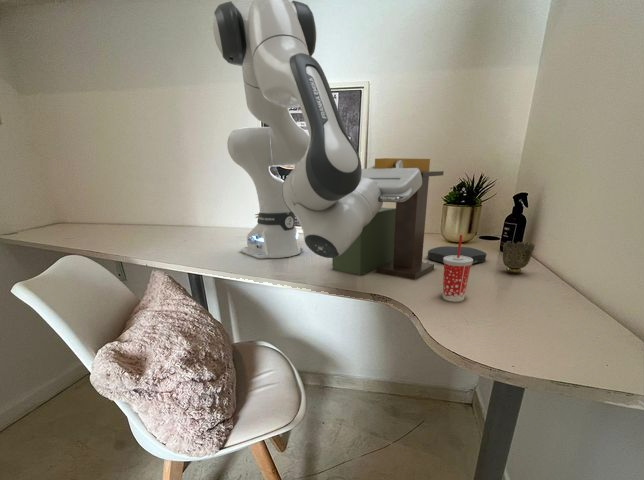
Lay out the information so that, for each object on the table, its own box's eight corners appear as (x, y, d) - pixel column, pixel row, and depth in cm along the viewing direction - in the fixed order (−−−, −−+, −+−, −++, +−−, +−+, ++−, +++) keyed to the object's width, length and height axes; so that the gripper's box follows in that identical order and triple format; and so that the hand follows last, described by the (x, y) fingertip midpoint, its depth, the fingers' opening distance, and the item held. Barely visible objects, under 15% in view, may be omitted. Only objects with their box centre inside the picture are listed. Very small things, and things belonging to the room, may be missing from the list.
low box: (332, 269, 98) (330, 212, 91) (367, 257, 111) (367, 206, 104) (360, 275, 92) (360, 215, 86) (393, 261, 105) (395, 208, 98)
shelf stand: (376, 272, 94) (379, 172, 84) (397, 263, 103) (402, 171, 92) (414, 279, 88) (423, 172, 77) (434, 269, 96) (443, 171, 85)
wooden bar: (374, 173, 75) (374, 158, 74) (418, 171, 90) (419, 159, 89) (385, 173, 73) (386, 158, 72) (429, 171, 89) (430, 158, 88)
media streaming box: (422, 257, 108) (422, 248, 107) (454, 252, 114) (455, 243, 113) (457, 268, 96) (458, 258, 95) (490, 261, 103) (492, 251, 102)
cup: (501, 267, 96) (506, 239, 93) (530, 271, 92) (536, 242, 89) (495, 274, 91) (500, 244, 87) (525, 278, 87) (532, 247, 84)
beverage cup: (459, 292, 78) (467, 231, 73) (472, 301, 73) (482, 237, 67) (434, 294, 77) (440, 233, 72) (446, 303, 72) (454, 238, 66)
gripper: (401, 187, 63) (432, 148, 68) (320, 185, 74) (352, 152, 80) (407, 215, 67) (435, 176, 73) (330, 209, 79) (359, 176, 85)
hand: (391, 163), depth 77 cm, fingers closed on wooden bar, 3 cm apart
